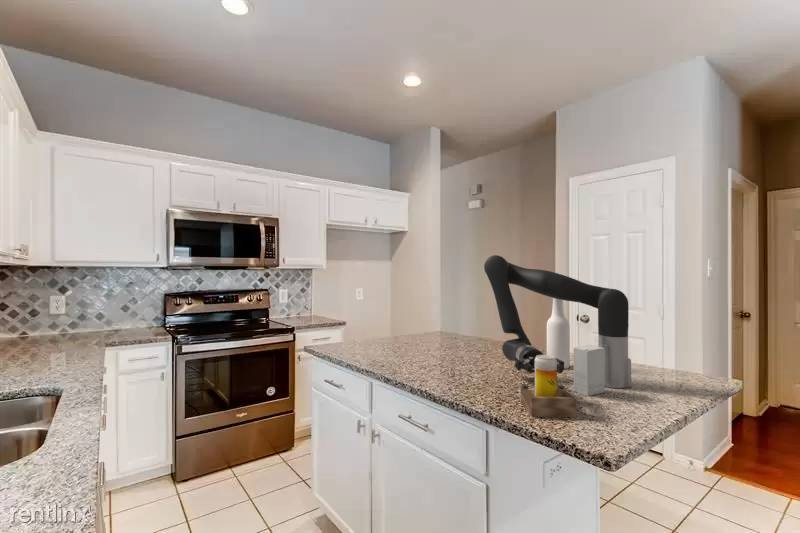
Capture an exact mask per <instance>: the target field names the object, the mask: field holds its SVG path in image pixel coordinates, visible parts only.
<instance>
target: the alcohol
mask: <svg viewBox="0 0 800 533" xmlns="http://www.w3.org/2000/svg"><path fill="white" fill-rule="evenodd" d="M564 310H565V309H564V300H560V299H556V298H552V310H551V316H550V317H549V318H548V320H547V321H546V355H551V356H554V357H555V358H557V359H559V360H561V361H563V362H564V370H566V369H569V368H570V363H571V362H570V361H571V356H570V354H571V350H570V348H571V347H570V346H571V345H570V344H571V343H570V342H571V340H570V336H571V334H570V331H571V330H570V328H571V327H570V326H571V325H570V322H569V320H568V319H567V318H566V317H565V311H564Z"/></svg>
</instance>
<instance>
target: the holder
mask: <svg viewBox="0 0 800 533" xmlns="http://www.w3.org/2000/svg"><path fill="white" fill-rule="evenodd" d="M520 403H522V404H521V405H522V406H523V407H524V409H525V408H526V409H525V410H526V411H527V413H528V414H529V415H530V417H540V418H543V417H544V418H545V417H547V418H548V417H549V418H577V397H575V396H574V395H572V394H571V393H570V392H568V390H566V389H565V385H563V384H561V383H560V384H558V383H557V397H536V396H535V393H533V392H532V391H531V390H530V389H529V386H528V384H527V383H521V385H520Z"/></svg>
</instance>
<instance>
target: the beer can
mask: <svg viewBox="0 0 800 533" xmlns="http://www.w3.org/2000/svg"><path fill="white" fill-rule="evenodd" d="M557 384H558V372H557V360H556V358H555V357H554V356H551V355H547V354H544V355H537V356H536V358H535V372H534V395H535V396H536V397H557Z"/></svg>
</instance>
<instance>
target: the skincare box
mask: <svg viewBox="0 0 800 533" xmlns="http://www.w3.org/2000/svg"><path fill="white" fill-rule="evenodd" d="M605 387H606V386H605V348H602V347H598V345H593V344H587V345H582V346H581V345H580V346H576V347H573V391H574V392H575V393H578V394H581V395H584V396H586V397H590V396H593V395H594V396H595V395H598V394H604V393H605V390H606V389H605Z"/></svg>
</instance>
